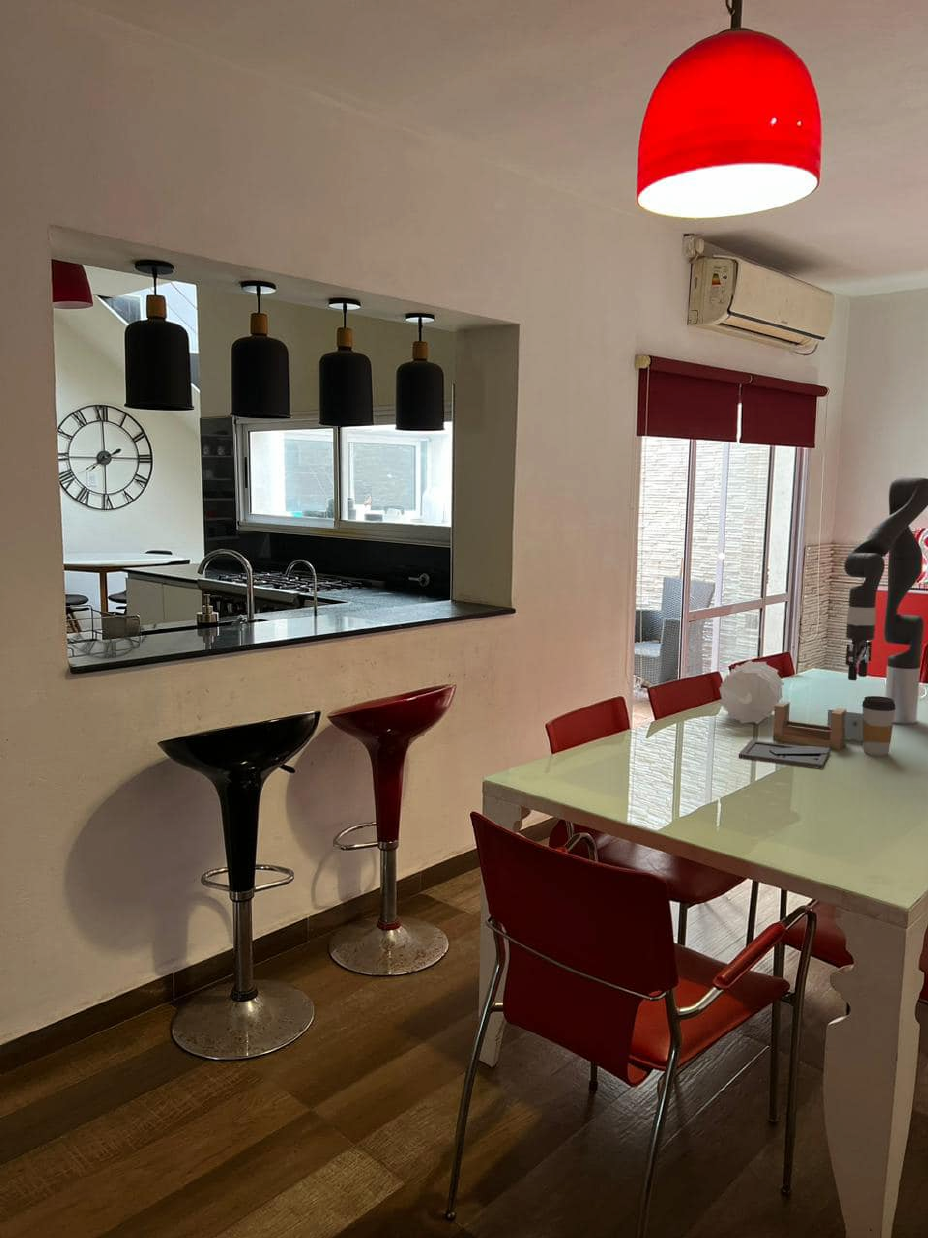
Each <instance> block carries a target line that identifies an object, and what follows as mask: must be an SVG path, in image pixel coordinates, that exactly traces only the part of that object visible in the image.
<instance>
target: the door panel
mask: <svg viewBox="0 0 928 1238" xmlns="http://www.w3.org/2000/svg"><path fill="white" fill-rule="evenodd" d="M836 708H837V707H829V708H828V709H827V710H828V711H827V725H826V726H831V713H832V712H833V711H834V710H835V709H836ZM845 709H846V722H845V738H850V739H849V740H852V739H855V740H854V741H860V740H862V741H861V742H863V710H853V709H847V708H845Z"/></svg>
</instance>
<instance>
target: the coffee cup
mask: <svg viewBox="0 0 928 1238" xmlns="http://www.w3.org/2000/svg"><path fill="white" fill-rule="evenodd" d="M861 706H862V711H863V741H862V744H863V745H862V746H863V747H862V749H863V751H864V753H865V754H868V755H870V756H877V757H879V756H883V757H884V756H887V755H888V754H889V752H890V747H891V741H892V735H893V727H894V722H893V719H894V711H895V709H896V708H895V703H894V700H893V699H891V698H887V697H885V696H878V695H876V696H875V695H871V696H870V695H869V696H865V697H864V699H863V700H862V704H861Z"/></svg>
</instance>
